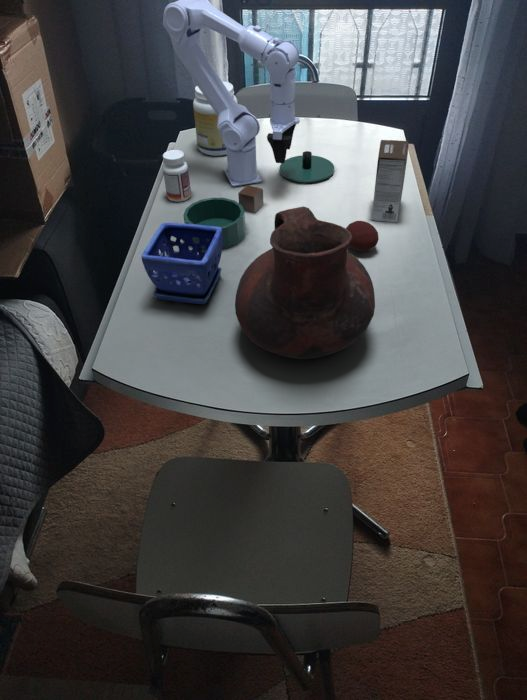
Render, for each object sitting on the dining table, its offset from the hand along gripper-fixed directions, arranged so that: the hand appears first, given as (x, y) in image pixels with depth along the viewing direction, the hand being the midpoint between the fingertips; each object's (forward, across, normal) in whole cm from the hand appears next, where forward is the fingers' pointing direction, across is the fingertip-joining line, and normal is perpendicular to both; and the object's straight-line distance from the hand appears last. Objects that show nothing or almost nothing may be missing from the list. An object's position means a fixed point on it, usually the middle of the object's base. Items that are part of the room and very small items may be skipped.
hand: (283, 155), depth 149 cm
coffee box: (+9, -9, -27) cm, 29 cm away
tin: (+8, -24, +11) cm, 28 cm away
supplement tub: (+9, +19, +22) cm, 31 cm away
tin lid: (+8, +9, -5) cm, 13 cm away
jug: (+9, -55, -14) cm, 57 cm away
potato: (+9, -25, -22) cm, 34 cm away
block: (+8, -11, +6) cm, 15 cm away
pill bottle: (+9, -9, +25) cm, 28 cm away
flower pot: (+9, -46, +11) cm, 48 cm away
